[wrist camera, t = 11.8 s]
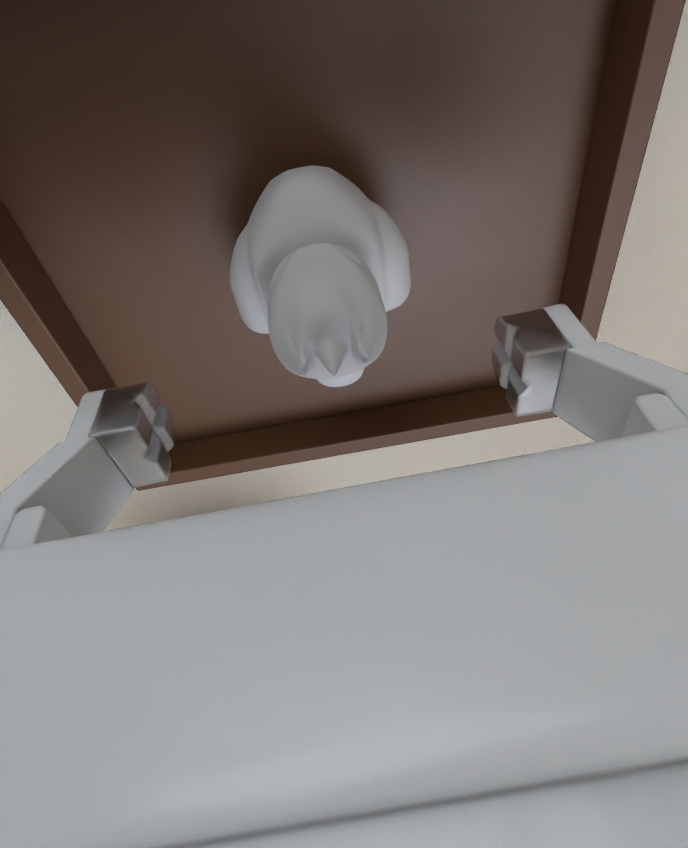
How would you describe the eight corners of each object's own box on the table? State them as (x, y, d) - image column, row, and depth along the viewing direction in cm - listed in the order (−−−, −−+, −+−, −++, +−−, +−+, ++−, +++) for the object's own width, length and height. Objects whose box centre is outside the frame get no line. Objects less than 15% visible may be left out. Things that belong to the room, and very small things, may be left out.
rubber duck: (386, 127, 15) (460, 248, 9) (401, 316, 19) (457, 475, 14) (207, 164, 15) (168, 306, 9) (265, 343, 19) (263, 510, 14)
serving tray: (-162, -31, 12) (-236, -25, 10) (674, -201, 11) (746, -226, 10) (146, 451, 24) (137, 491, 22) (554, 379, 23) (576, 413, 22)
